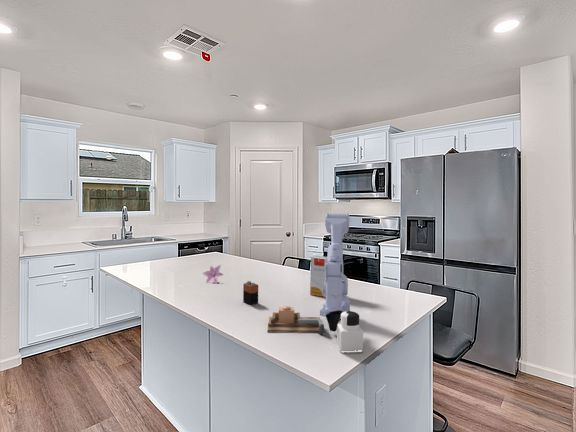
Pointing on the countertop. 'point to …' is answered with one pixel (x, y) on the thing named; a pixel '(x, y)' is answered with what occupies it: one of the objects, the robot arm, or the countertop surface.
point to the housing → (291, 324)
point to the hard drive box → (317, 275)
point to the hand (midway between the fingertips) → (333, 330)
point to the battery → (250, 293)
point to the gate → (314, 321)
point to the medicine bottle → (349, 332)
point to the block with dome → (286, 314)
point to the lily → (213, 274)
